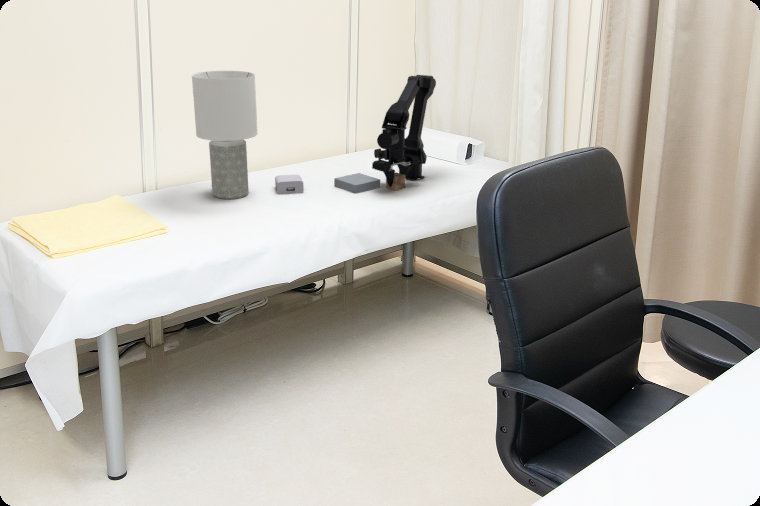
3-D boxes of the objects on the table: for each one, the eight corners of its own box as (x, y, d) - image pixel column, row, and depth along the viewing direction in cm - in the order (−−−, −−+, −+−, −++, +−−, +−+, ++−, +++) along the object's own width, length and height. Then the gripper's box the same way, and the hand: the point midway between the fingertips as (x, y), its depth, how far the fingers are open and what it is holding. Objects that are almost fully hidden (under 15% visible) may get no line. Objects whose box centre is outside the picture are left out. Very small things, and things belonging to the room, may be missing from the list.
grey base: (359, 180, 281) (359, 172, 280) (380, 187, 273) (380, 179, 272) (334, 186, 274) (334, 178, 273) (355, 193, 266) (355, 185, 265)
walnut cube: (395, 185, 276) (396, 172, 274) (405, 188, 273) (405, 175, 271) (385, 187, 273) (386, 174, 271) (395, 190, 270) (395, 177, 268)
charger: (298, 182, 279) (303, 193, 265) (274, 183, 277) (277, 194, 263) (298, 170, 277) (303, 180, 264) (273, 171, 275) (277, 182, 262)
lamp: (238, 183, 276) (232, 69, 261) (271, 195, 262) (267, 75, 247) (189, 193, 262) (179, 74, 247) (222, 206, 249) (214, 81, 234)
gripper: (399, 136, 278) (398, 176, 284) (362, 143, 267) (362, 184, 272) (420, 141, 271) (419, 182, 276) (383, 148, 259) (382, 191, 265)
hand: (395, 185), depth 273 cm, fingers closed on walnut cube, 5 cm apart
